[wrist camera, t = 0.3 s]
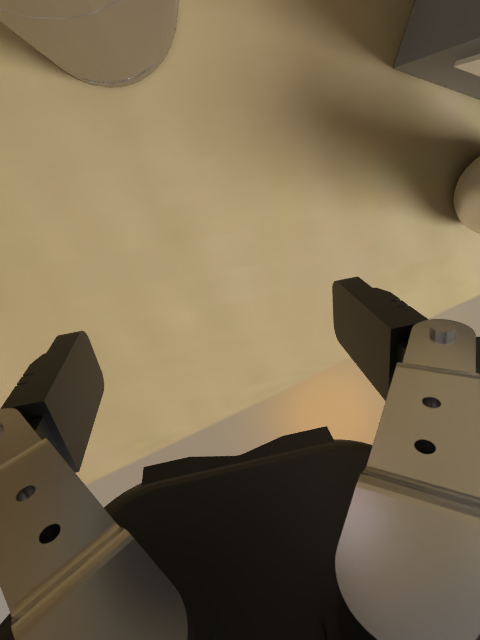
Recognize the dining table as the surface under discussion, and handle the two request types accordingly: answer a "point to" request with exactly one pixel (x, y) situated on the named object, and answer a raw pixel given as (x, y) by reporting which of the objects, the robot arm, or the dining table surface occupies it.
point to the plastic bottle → (469, 196)
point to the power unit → (443, 44)
